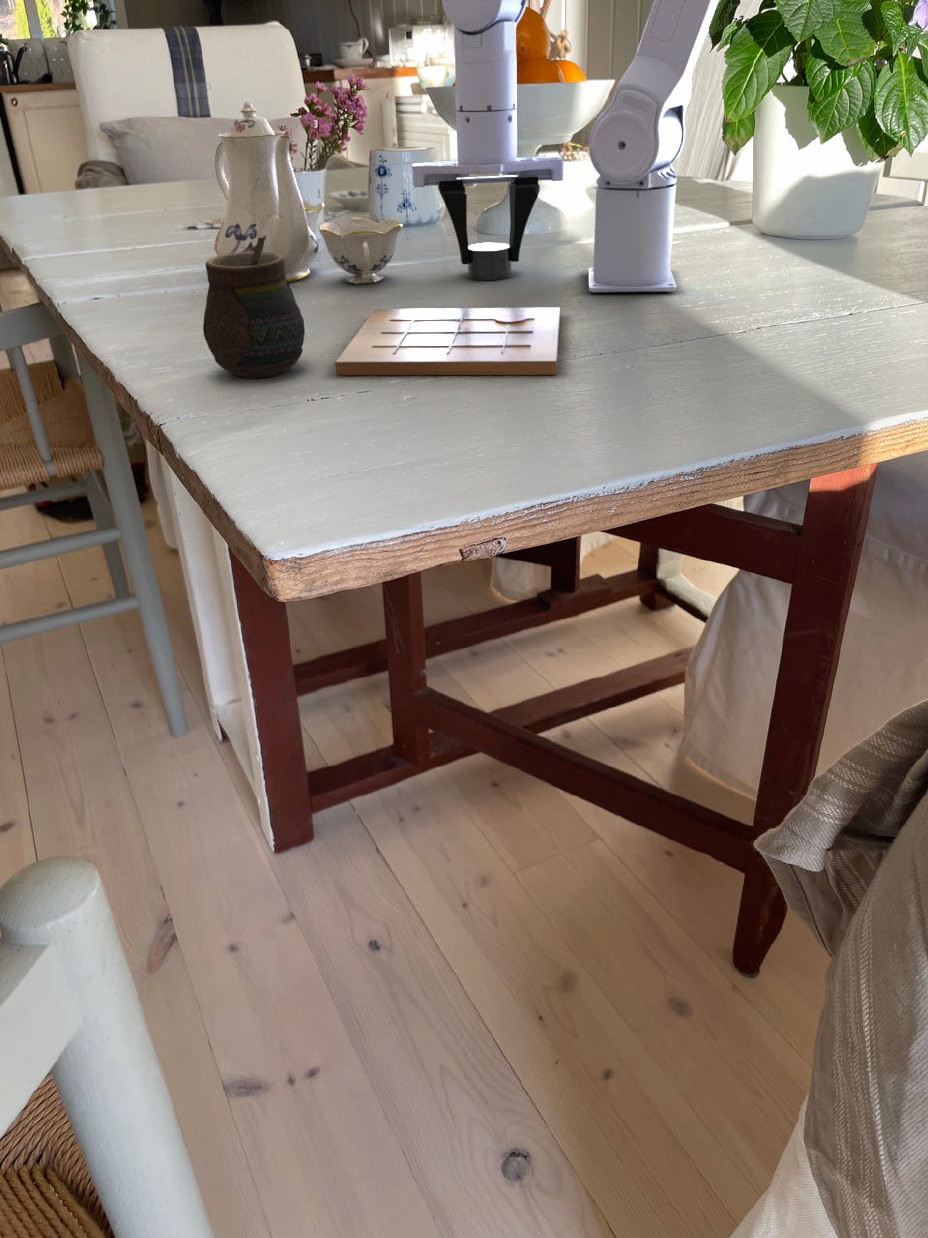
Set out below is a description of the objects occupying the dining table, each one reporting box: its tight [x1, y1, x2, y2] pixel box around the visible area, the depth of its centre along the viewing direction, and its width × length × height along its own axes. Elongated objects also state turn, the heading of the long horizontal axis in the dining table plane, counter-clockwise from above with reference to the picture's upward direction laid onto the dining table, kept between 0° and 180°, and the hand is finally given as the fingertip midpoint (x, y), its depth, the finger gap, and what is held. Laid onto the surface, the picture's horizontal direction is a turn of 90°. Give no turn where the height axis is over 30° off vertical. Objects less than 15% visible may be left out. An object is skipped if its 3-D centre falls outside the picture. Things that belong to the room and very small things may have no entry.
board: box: [334, 306, 561, 376], centre depth 77 cm, size 16×16×1 cm
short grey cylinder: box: [467, 242, 512, 281], centre depth 98 cm, size 4×4×3 cm
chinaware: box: [213, 100, 404, 285], centre depth 100 cm, size 28×17×17 cm, turn 40°
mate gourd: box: [202, 235, 306, 379], centre depth 70 cm, size 7×8×10 cm
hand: (489, 261), depth 98 cm, fingers closed on short grey cylinder, 4 cm apart
